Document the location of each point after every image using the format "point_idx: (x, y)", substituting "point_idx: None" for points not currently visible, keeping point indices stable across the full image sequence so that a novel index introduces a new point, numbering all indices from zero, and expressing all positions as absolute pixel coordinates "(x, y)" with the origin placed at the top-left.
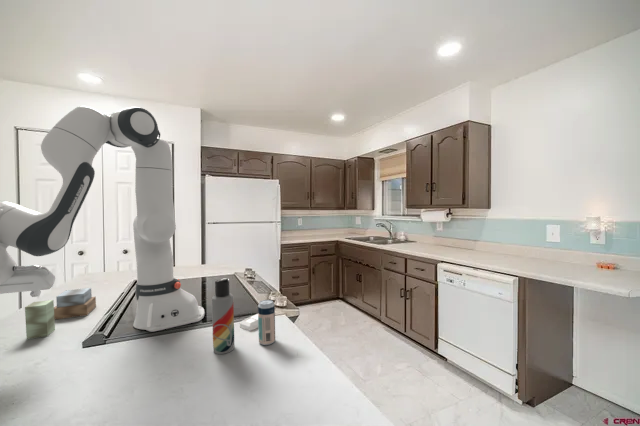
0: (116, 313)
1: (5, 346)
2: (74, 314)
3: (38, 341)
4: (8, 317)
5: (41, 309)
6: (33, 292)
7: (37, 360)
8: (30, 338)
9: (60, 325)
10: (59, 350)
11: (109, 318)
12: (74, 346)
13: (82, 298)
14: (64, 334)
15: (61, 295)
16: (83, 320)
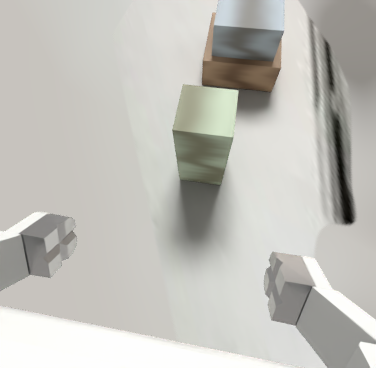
0: (343, 113)
1: (147, 200)
2: (246, 84)
3: (209, 211)
4: (115, 31)
5: (217, 143)
6: (294, 311)
7: None
8: (186, 179)
9: None
10: None
11: (337, 140)
12: None
13: (275, 45)
14: (258, 196)
15: (224, 21)
16: (273, 122)
